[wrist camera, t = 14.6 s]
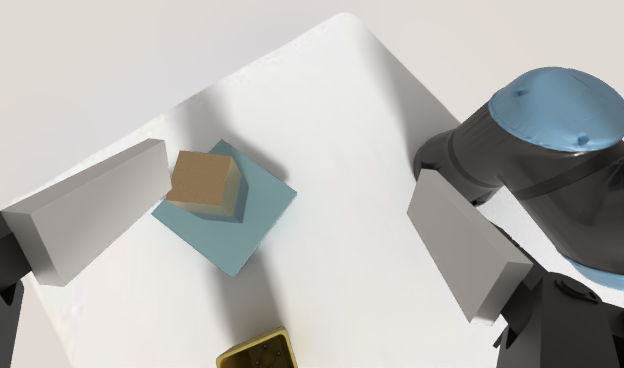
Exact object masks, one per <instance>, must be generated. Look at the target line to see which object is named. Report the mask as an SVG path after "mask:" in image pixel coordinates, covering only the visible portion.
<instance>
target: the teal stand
mask: <svg viewBox="0 0 624 368" xmlns="http://www.w3.org/2000/svg"><path fill="white" fill-rule="evenodd" d="M208 154H216V155H224V156H232V158H233V160H234V161H235V163H236V165H237V167H238V168H239V170H240V172H241V174H242V175H243V177H244V179H245V181H246V182H247V184H248V186H249V190H248V196H247V201H246V207H245V212H244V218H243V223H242V224H241V223H232V222H222V221H213V220H203V219H201V218H199V217H197V216H195V215H194V214H192V213H190V212H188V211H186V210H184V209H182V208H180V207H178V206H176V205H174V204H172V203H170V202H168V201H166V198H165V199H164V200H163V201H162V203H161V204H160V205H159V206H158V207H157V208H156V209H155V210H154V211H153V212H152V213H151V214H152V215H153V216H154V217H155V218H157V219H158V220H159V221H160V222H162V223H163V224H164V225H165V226H167V227H168V228H169V229H170V230H172V231H173V232H174V233H176V234H177V235H178V236H179V237H181V238H182V239H183V240H184V241H186V242H187V243H188V244H189V245H191V246H192V247H193V248H195V249H196V250H197V251H198V252H200V253H201V254H202V255H203V256H205V257H206V258H207V259H208V260H210V261H211V262H212V263H213V264H215V265H216V266H217V267H219V268H220V269H221V270H222V271H224V272H225V273H226V274H227V275H229V276H230V277H231V278H234V277H235V276H236V274H237V273H238V272H239V270H240V269H241V268H242V267H243V265H244V264H245V263H246V261H247V260H248V259H249V257H250V256H251V255H252V253H253V252H254V251H255V249H256V248H257V247H258V246H259V244H260V243H261V242H262V240H263V239H264V238H265V236H266V235H267V234H268V232H269V231H270V230H271V228H272V227H273V226H274V225H275V223H276V222H277V221H278V219H279V218H280V217H281V215H282V214H283V213H284V211H285V210H286V209H287V207H288V206H289V205H290V204H291V202H292V201H293V200H294V198H295V197H296V196H297V192H296V191H295V190H293V189H292V188H290V187H289V186H287V185H286V184H285V183H283V182H282V181H280V180H279V179H278V178H276V177H275V176H273V175H272V174H270V173H269V172H268V171H266V170H265V169H263V168H262V167H261V166H259V165H258V164H256V163H255V162H253V161H252V160H251V159H249V158H248V157H246V156H245V155H243V154H242V153H241V152H239V151H238V150H236V149H235V148H234V147H232V146H231V145H229V144H228V143H226V142H225V141H224V140H222V139H221V140H220V142H219V143H218V144H217V145H216V146H215V147H214V148H213V149H212V150H211V151H210V152H209V153H208Z"/></svg>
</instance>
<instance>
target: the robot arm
mask: <svg viewBox="0 0 624 368" xmlns="http://www.w3.org/2000/svg"><path fill="white" fill-rule="evenodd" d="M623 137H624V99H623V98H622V97H621V96H620V95H619V94H618V93H617V92H616V91H615V90H614V89H613V88H612V87H610V86H609V85H608V84H606V83H605V82H603V81H602V80H600V79H598V78H596V77H594V76H592V75H590V74H587V73H584V72H581V71H578V70H575V69H570V68H569V69H566V68H561V67H544V68H538V69H534V70H531V71H528V72H526V73H524V74H523V75H521V76H519V77H518V78H516V79H515V80H514V81H512V82H511V83H510V84H508V85H507V86H506V87H504V88H502V89H500V90H498V91H497V92H496V93H495V94H494V95H493V96H492V98H491V99H490V100H489V101H488V102H487V103H485V104H484V105H483V106H482V107H481V108H480V109H478V110H477V111H476V112H475V113H474V114H473V115H471V116H470V117H469V118H468V119H467V120H466V121H464V122H463V123H462V124H461V125H460V126H459V127H457V128H456V129H453V130H450V131H447V132H444V133H441V134H438V135H436V136H434V137H432V138H431V139H429V140H428V141H427V142H426V143H425V144H424V145H423V146H422V147H421V148H420V149H419V150H418V152H417V154H416V156H415V160H414V174H415V178H416V180H417V184H416V187H415V190H414V193H413V196H412V199H411V202H410V205H409V208H408V211H407V215H408V216H409V218H410V220H411V222H412V223H413V225H414V227H415V229H416V230H417V232H418V234H419V236H420V237H421V239H422V241H423V243H424V244H425V246H426V248H427V250H428V251H429V253H430V255H431V257H432V258H433V260H434V262H435V264H436V265H437V267H438V269H439V271H440V272H441V274H442V276H443V278H444V279H445V281H446V283H447V285H448V287H449V288H450V290H451V292H452V294H453V295H454V297H455V299H456V301H457V302H458V304H459V306H460V308H461V309H462V311H463V313H464V315H465V316H466V318H467V320H468V322H469V323H470V324H477V325H488V326H492V325H493V324H494V322H495V321H496V319H497V318H498V317H499V315H500V314H502V316H503V317H504V319H505V320H506V321H507V323H508V325H507V326H506V328H505V329H504V331H503V332H502V333H501V335H500V336H499V338H498V339H497V340H496V342H495V343H494V345H493V347H495V348H497V347H498V346H499V345H500V351H499V356H498V361H497V367H496V368H624V308H621V307H618V306H615V305H612V304H608V303H605V302H602V300H601V298H600V297H599V296H598V295H597V294H596V293H595V292H594V291H593V290H591V289H590V288H588V287H587V286H585V285H584V284H582V283H581V282H579V281H577V280H575V279H573V278H571V277H568V276H566V275H563V274H560V273H555V272H548V271H547V270H546V269H545V268H544V267H542V266H541V265H540V264H539V263H538V262H537V261H536V260H535V259H534V258H533V257H532V256H531V255H530V254H529V253H527V252H526V251H525V250H524V249H523V248H522V247H520V245H519V244H518V243H517V242H516V241H515V240H512V238H511V237H510V236H509V235H508V234H507V233H506V232H505V231H504V230H503V229H501V228H500V227H498V226H497V225H495V224H493V223H492V222H490V221H488V220H487V219H486V218H485V217H484V216H483V215H482V214H481V213H480V212H479V211H478V210H477V209H476V208H475V207H478V206H480V205H482V204H484V203H486V202H487V201H488V200H490V198H491V197H492V196H493V195H494V194H495V193H496V192H497V191H498V190H499V189H500V188H501V187H502V186H504V185H505V186H506V187H507V188H508V189H509V191H510V192H511V193H512V194H513V195H514V196H515V198H516V199H517V200H518V201H519V203H520V204H521V205H522V206H523V208H524V209H525V210H526V211H527V213H528V214H529V215H530V216H531V217H532V219H533V220H534V221H535V222H536V224H537V225H538V226H539V227H540V229H541V230H542V231H543V232H544V233H545V235H546V236H547V237H548V238H549V240H550V241H551V242H552V243H553V244H554V246H555V248H556V249H557V251H558V252H559V253H560V254H561V255H562V256H563V257H564V258H565V259H566V260H568V261H569V262H570V263H571V264H572V265H573V266H574V267H575V268H576V270H577V271H578V272H579V273H580V274H582V275H583V276H584V277H586V278H587V279H589V280H591V281H593V282H595V283H597V284H599V285H602V286H605V287H608V288H612V289H616V290H621V291H624V141H623V140H622V138H623ZM171 189H172V185H171V178H170V172H169V166H168V159H167V153H166V147H165V140H158V139H147V140H145V141H143V142H141V143H139V144H137V145H135V146H133V147H130V148H128V149H126V150H124V151H122V152H120V153H118V154H116V155H114V156H112V157H110V158H108V159H106V160H104V161H102V162H100V163H98V164H96V165H94V166H91V167H89V168H87V169H85V170H83V171H81V172H79V173H77V174H75V175H73V176H71V177H69V178H67V179H65V180H63V181H61V182H59V183H57V184H55V185H52V186H50V187H48V188H46V189H44V190H42V191H40V192H38V193H36V194H34V195H32V196H30V197H28V198H26V199H24V200H22V201H20V202H18V203H15V204H13V205H11V206H9V207H7V208H5V209H3V210H1V211H0V368H10V365H11V360H12V354H13V348H14V343H15V338H16V332H17V326H18V321H19V315H20V309H21V304H22V299H23V293H24V286H23V283H22V281H21V280H20V279H21V278H22V277H24V276H25V275H26V274H28V273H29V272H30V271H32V272H33V274H34V276H35V278H36V280H37V282H38V283H39V285H49V286H60V287H65V286H66V285H67V284H68V283H69V282H70V281H71V280H72V279H73V278H74V277H76V276H77V275H78V274H79V273H80V272H81V271H82V270H83V269H84V268H85V267H87V266H88V265H89V264H90V263H91V262H92V261H93V260H94V259H95V258H96V257H98V256H99V255H100V254H101V253H102V252H103V251H104V250H105V249H106V248H107V247H109V246H110V245H111V244H112V243H113V242H114V241H115V240H116V239H117V238H118V237H120V236H121V235H122V234H123V233H124V232H125V231H126V230H127V229H128V228H129V227H131V226H132V225H133V224H134V223H135V222H136V221H137V220H138V219H139V218H140V217H142V216H143V215H144V214H145V213H146V212H147V211H148V210H149V209H150V208H151V207H153V206H154V205H155V204H156V203H157V202H158V201H159V200H160V199H161V198H162V197H163V196H165V195H166V194H167V193H168V192H169V191H170V190H171Z"/></svg>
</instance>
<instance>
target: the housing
mask: <svg viewBox="0 0 624 368" xmlns="http://www.w3.org/2000/svg"><path fill="white" fill-rule="evenodd" d="M171 185H172V189H171V190H170V191H169V192H168V193H167V197H166V201H168V202H170V203H172V204H174V205H176V206H178V207H180V208H182V209H184V210H186V211H188V212H190V213H192V214H194V215H195V216H197V217H199V218H201V219H203V220H213V221H222V222H232V223H241V224H242V223H243V218H244V212H245V207H246V201H247V196H248V190H249V186H248V184H247V182H246V181H245V179H244V177H243V175H242V174H241V172H240V170H239V168H238V167H237V165H236V163H235V161H234V160H233V158H232V156H224V155H216V154H207V153H198V152H189V151H180V152H179V155H178V159H177V162H176V166H175V169H174V173H173V176H172V179H171Z"/></svg>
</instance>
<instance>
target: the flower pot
mask: <svg viewBox="0 0 624 368" xmlns="http://www.w3.org/2000/svg"><path fill="white" fill-rule="evenodd" d="M264 344H266V345H267V348H265V349H264V348H263V345H264ZM278 351H279V352H280V355H279V356H278V355H277V352H278ZM256 361H259V362H260V363H259V365H256ZM216 365H217V368H298V367H297V363H296V360H295V357H294V353H293V350H292V347H291V343H290V340H289V336H288V333H287V331H286V328H285V327H283V326H282V327H279V328H276V329H274V330H272V331H270V332H267V333H265V334H263V335H260V336H258V337H256V338H253V339H251V340H248V341H246V342H243V343H241V344H238V345H236V346H234V347H232V348H230V349H229V350H227V351H226V352H224V353H223V354H221V355H220V356H219V357H218V358H217V359H216Z"/></svg>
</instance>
